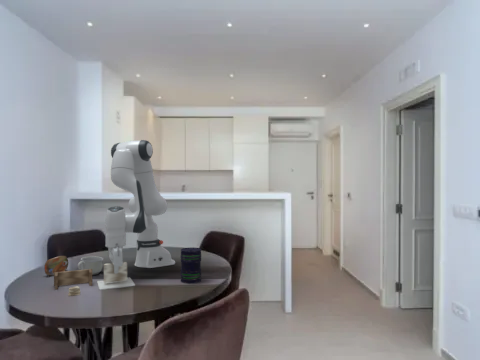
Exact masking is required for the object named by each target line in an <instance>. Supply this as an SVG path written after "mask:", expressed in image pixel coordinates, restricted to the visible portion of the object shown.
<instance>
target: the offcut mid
mask: <svg viewBox="0 0 480 360" xmlns="http://www.w3.org/2000/svg"><path fill="white" fill-rule="evenodd" d="M68 293H69V294H70V295H74V294H80V295H81V289H80V290H78V291H74V292H70V291H69V290H68ZM74 296H75V295H74Z"/></svg>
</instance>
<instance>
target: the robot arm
mask: <svg viewBox="0 0 480 360" xmlns="http://www.w3.org/2000/svg"><path fill="white" fill-rule="evenodd" d="M153 150H154V149H153V145H152V143H151V142H150V141H149V140H146V139H145V140H144V139H141V140H138V139H137V140H128V141H123V142H118V143H114V144H113V146H112V147H111V149H110V156H111V158H112V159H111V166H110V180H111V182H112V183H113V184H114V186H115V187H117V188H119V189H122V190H125V191H127V192H129V193H131V194H132V195H133V197H131V198H130V199H129V201H128V210H129V211H130V212H126V211H125V208H124V207H122V206H118V205H117V206H111V207H108V208H107V210H106V217H105V229H106V233H105V247H106V248H107V250H108V258H109V260H110V263H113V265H114V273H115V274H117V273H118V269H119V266H122V264H123V262H124V261H123V260H124V259H123V249H124V247H126V245H127V244H126V241H127V239H126V237H127V234H126V233H134V234H137V239H136V245H135V246H136V248H135V249H136V257H135V262H134V266H135V267H138V268H147V269H151V268H152V269H153V268H160V267H167V266H173V265H175V264H176V261H175V259H172V256H171V253H170V251H169V250H167V249H166V248H165V247H163V246H162V245H163V244H164V240H161V239H159V238H158V232H159V231H158V227H159V226H158V224H157V223H156V222H155V220H154V219H153V217H154V216H155V217H157V216H161V215H163V214H165V213H166V212H167V210H168V203H167V200H166V199H165V198H164V197H163V196H162V195H161V193H160V192H159V189H158V188H157V185H156V183H155V178H154V177H155V176H154V171H153V170H154V169H153V166H152V165H153V164H152V162H151V158H152V156H153V153H154V152H153Z"/></svg>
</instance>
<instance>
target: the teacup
mask: <svg viewBox="0 0 480 360" xmlns="http://www.w3.org/2000/svg"><path fill="white" fill-rule="evenodd" d="M103 268H104V257H102V256H98V255H97V256H95V255H91V256H84V257H81V258H80V261H79V262H78V263H77V269H78V270H86V269H92V276H94V275H98V274H99V273H100V272H102V270H103Z"/></svg>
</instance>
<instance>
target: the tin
mask: <svg viewBox="0 0 480 360" xmlns="http://www.w3.org/2000/svg"><path fill="white" fill-rule="evenodd" d="M68 267H69V259H68V257H67V256H66V255H58V256H56V257H53V258H50V259H47V260H46V262H45V263H44V274H46V275H47V276H49V277H50V276H53V277H54V272H64V271H67V269H68Z"/></svg>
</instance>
